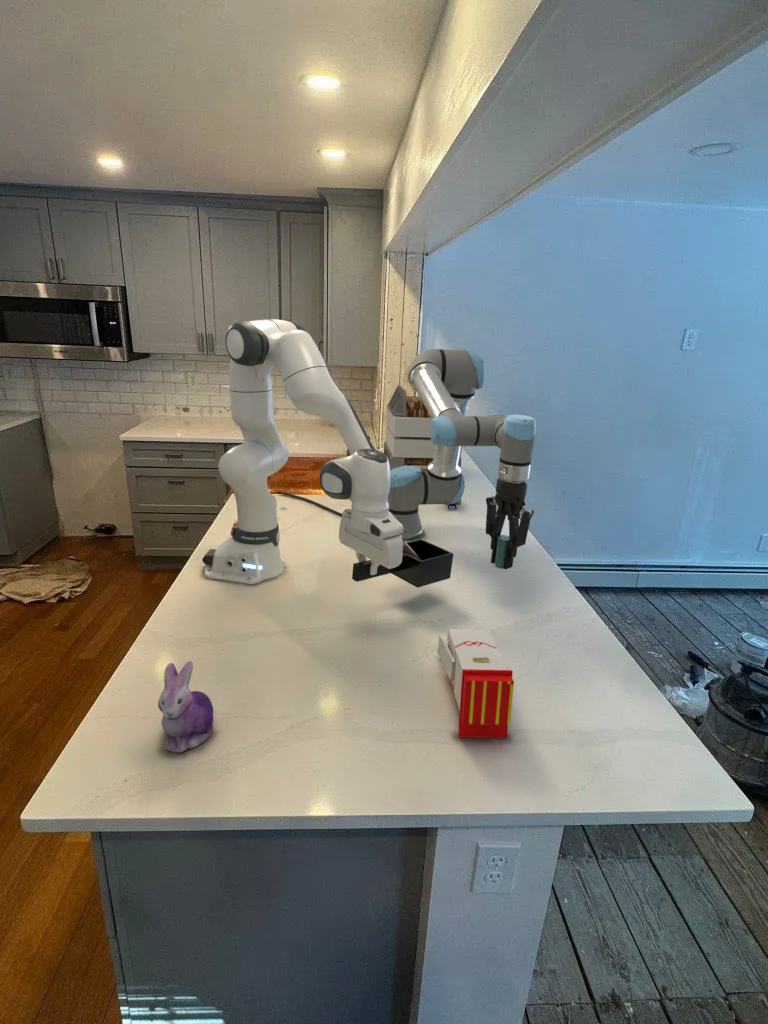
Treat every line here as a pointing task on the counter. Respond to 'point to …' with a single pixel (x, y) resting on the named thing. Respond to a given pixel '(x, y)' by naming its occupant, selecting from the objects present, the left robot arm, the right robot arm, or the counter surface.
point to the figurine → (184, 711)
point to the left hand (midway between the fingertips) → (367, 571)
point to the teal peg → (501, 551)
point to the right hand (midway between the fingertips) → (501, 564)
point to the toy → (478, 682)
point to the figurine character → (454, 504)
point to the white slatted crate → (408, 432)
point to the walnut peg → (409, 551)
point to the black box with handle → (413, 565)
